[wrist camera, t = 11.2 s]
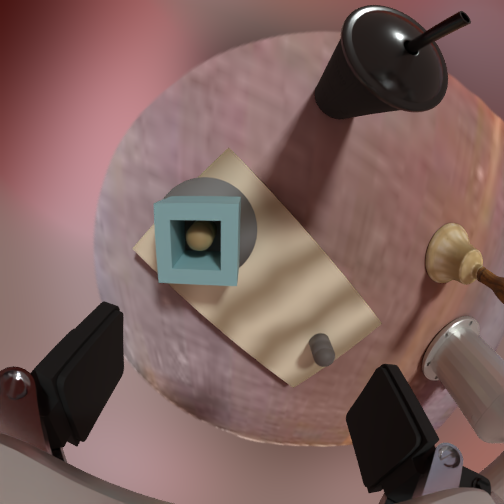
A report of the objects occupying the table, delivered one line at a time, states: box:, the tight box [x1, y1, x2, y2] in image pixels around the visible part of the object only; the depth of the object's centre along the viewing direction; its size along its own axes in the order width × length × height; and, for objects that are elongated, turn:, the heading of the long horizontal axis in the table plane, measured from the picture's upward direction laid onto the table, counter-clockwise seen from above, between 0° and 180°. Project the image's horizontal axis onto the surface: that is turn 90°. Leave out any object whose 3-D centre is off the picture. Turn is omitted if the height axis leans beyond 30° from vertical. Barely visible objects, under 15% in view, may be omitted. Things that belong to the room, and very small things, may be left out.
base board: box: [133, 148, 382, 388], centre depth 27 cm, size 27×14×6 cm, turn 43°
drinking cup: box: [315, 5, 471, 119], centre depth 14 cm, size 8×8×20 cm
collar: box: [154, 196, 241, 286], centre depth 23 cm, size 7×7×5 cm
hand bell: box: [426, 223, 504, 304], centre depth 21 cm, size 8×8×16 cm
